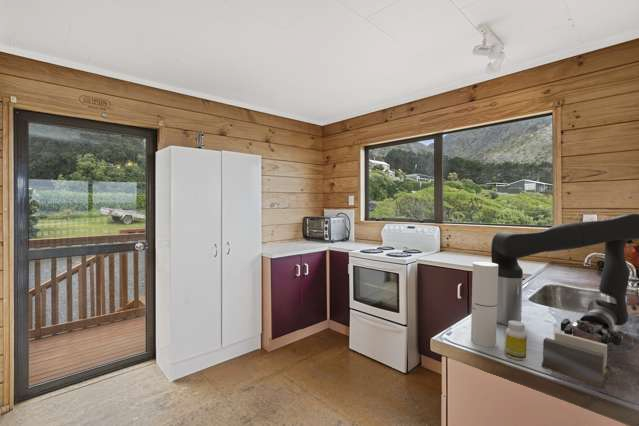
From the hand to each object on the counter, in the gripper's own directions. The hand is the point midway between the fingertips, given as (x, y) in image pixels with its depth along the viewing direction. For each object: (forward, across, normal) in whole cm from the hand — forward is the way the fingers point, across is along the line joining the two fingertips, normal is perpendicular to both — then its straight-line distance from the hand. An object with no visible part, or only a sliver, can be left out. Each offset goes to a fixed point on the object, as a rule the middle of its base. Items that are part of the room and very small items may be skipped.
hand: (584, 337), depth 91 cm
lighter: (-2, 0, +6) cm, 7 cm away
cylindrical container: (+11, -23, +6) cm, 26 cm away
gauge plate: (+5, 0, +5) cm, 7 cm away
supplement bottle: (+13, -13, +6) cm, 20 cm away
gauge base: (+9, 0, +6) cm, 10 cm away
